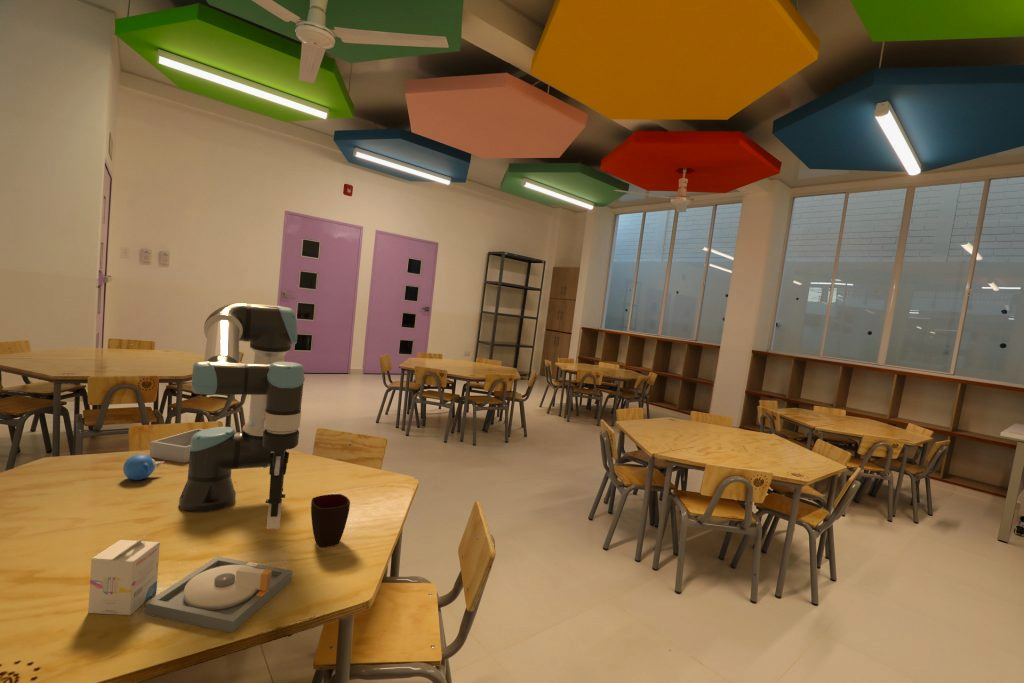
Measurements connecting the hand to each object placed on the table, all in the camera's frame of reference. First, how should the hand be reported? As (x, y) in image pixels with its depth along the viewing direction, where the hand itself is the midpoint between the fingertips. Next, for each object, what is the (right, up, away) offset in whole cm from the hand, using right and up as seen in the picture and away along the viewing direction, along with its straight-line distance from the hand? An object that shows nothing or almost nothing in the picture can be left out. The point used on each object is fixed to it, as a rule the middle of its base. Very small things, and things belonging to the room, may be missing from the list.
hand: (273, 527), depth 113 cm
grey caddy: (-74, -1, +82) cm, 111 cm away
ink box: (-26, -12, -11) cm, 31 cm away
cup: (+3, -13, +24) cm, 28 cm away
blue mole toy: (-71, -4, +53) cm, 88 cm away
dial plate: (-9, -13, -5) cm, 17 cm away
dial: (-7, -12, -5) cm, 15 cm away
